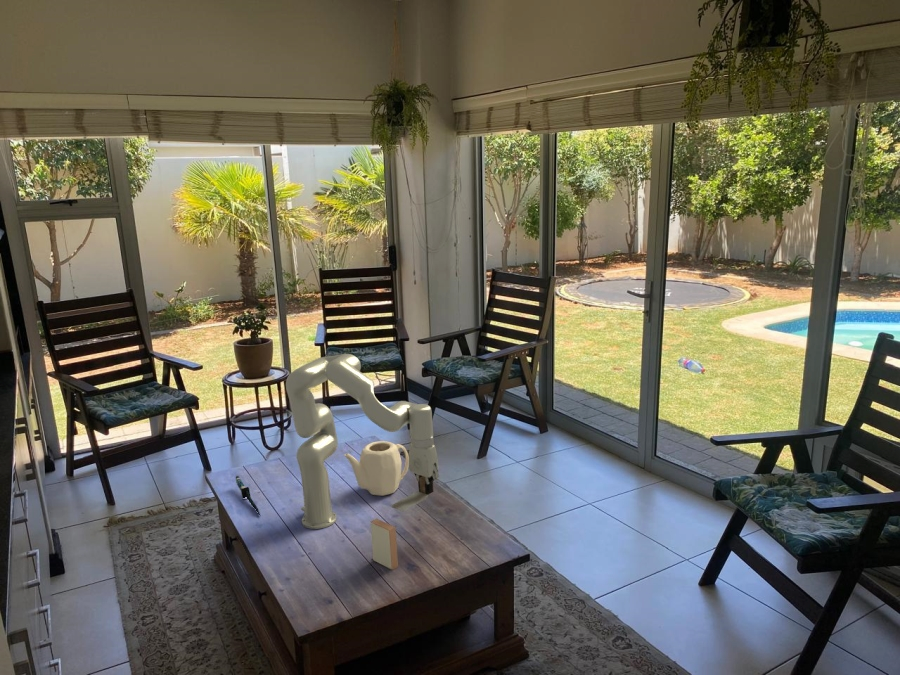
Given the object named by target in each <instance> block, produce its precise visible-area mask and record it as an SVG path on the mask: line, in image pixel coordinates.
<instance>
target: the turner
mask: <svg viewBox="0 0 900 675" xmlns="http://www.w3.org/2000/svg"><path fill="white" fill-rule="evenodd" d="M429 478H430V477H429ZM419 482H420V492H419V490H418V491H415V492H413V493H411V494H409V495H408V496H406V497H404V498H402V499H400V500H398V501H397V502H395V503H393V504H391V508H393V509H396V510H398V511H401V512H405V511H406V510H408V509H410V508H412V507H414V506H416V505H417V504H418V503H421V502H423V501H424V500H426V499H427V498H429V495H430V494H428V495H427V494H426V493H425V484H426V478H425V477H424V476H422V477H420V478H419ZM432 493H434V488H433V492H432Z"/></svg>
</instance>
